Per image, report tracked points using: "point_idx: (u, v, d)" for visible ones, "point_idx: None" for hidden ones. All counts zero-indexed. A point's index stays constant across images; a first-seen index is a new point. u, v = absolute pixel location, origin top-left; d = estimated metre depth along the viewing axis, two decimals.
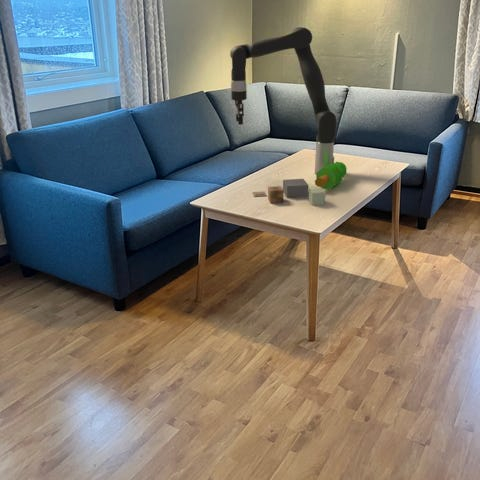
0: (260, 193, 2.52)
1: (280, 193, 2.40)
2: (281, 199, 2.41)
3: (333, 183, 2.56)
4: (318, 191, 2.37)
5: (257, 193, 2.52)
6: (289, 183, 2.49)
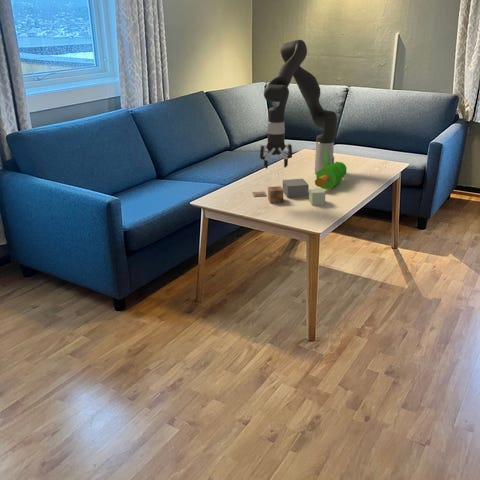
0: (260, 193, 2.52)
1: (280, 193, 2.40)
2: (281, 199, 2.41)
3: (333, 183, 2.56)
4: (318, 191, 2.37)
5: (257, 193, 2.52)
6: (289, 183, 2.49)
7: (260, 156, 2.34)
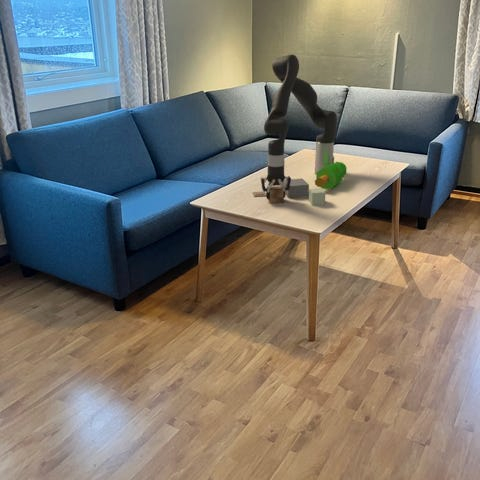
0: (260, 193, 2.52)
1: (280, 193, 2.40)
2: (281, 199, 2.41)
3: (333, 183, 2.56)
4: (318, 191, 2.37)
5: (257, 193, 2.52)
6: None
7: (262, 188, 2.40)
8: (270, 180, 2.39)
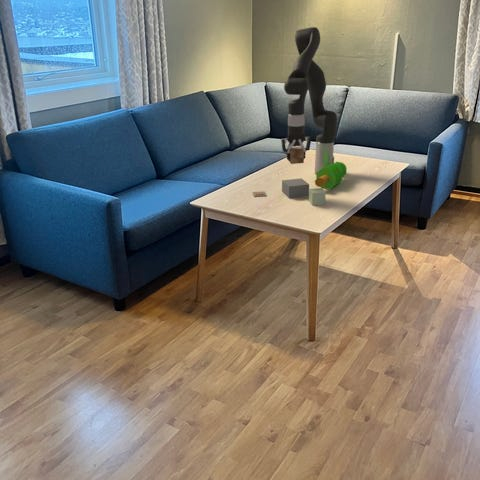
0: (260, 193, 2.52)
1: (301, 153, 2.42)
2: (302, 159, 2.43)
3: (333, 183, 2.56)
4: (318, 191, 2.37)
5: (257, 193, 2.52)
6: (289, 183, 2.49)
7: (283, 149, 2.42)
8: (290, 140, 2.41)
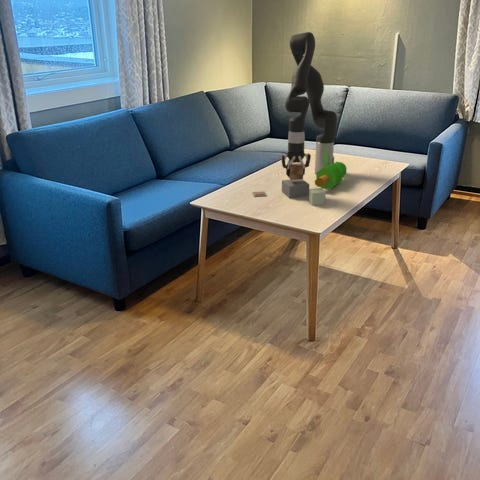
0: (260, 193, 2.52)
1: (300, 169, 2.45)
2: (301, 176, 2.46)
3: (333, 183, 2.56)
4: (318, 191, 2.37)
5: (257, 193, 2.52)
6: (290, 183, 2.49)
7: (283, 165, 2.46)
8: (290, 157, 2.44)
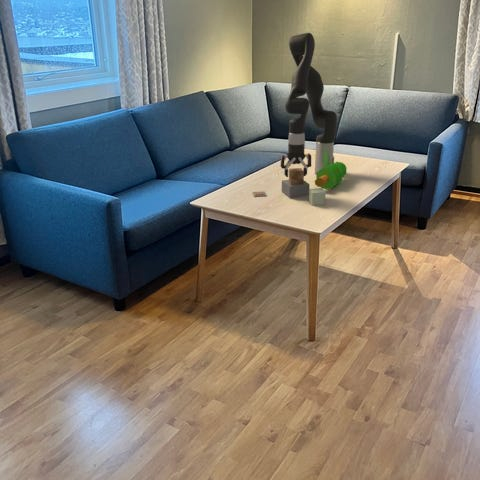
0: (260, 193, 2.52)
1: (301, 174, 2.46)
2: (301, 180, 2.47)
3: (333, 183, 2.56)
4: (318, 191, 2.37)
5: (257, 193, 2.52)
6: None
7: (281, 165, 2.45)
8: (291, 158, 2.44)
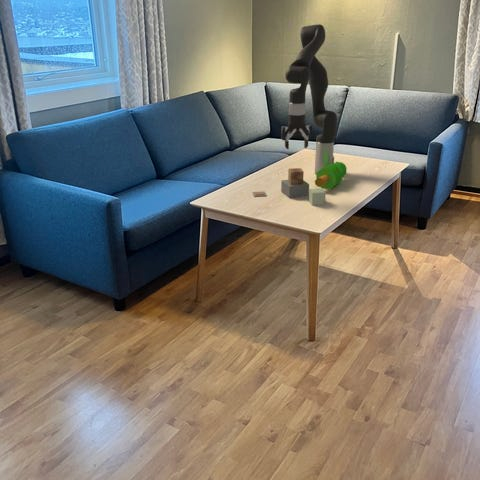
0: (260, 193, 2.52)
1: (300, 174, 2.46)
2: (301, 180, 2.47)
3: (333, 183, 2.56)
4: (318, 191, 2.37)
5: (257, 193, 2.52)
6: (289, 183, 2.49)
7: (281, 137, 2.40)
8: (291, 129, 2.39)
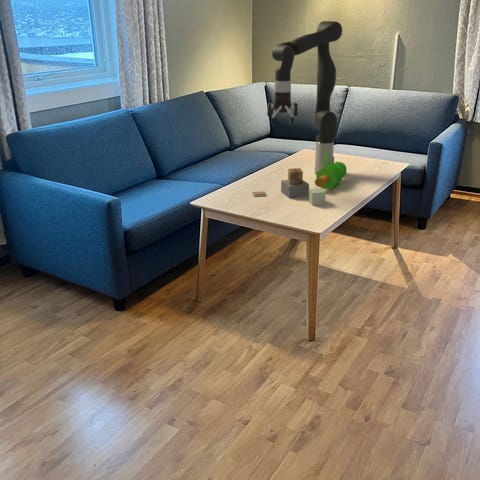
0: (260, 193, 2.52)
1: (300, 174, 2.46)
2: (300, 181, 2.47)
3: (333, 183, 2.56)
4: (318, 191, 2.37)
5: (257, 193, 2.52)
6: None
7: (268, 114, 2.49)
8: (277, 106, 2.48)
